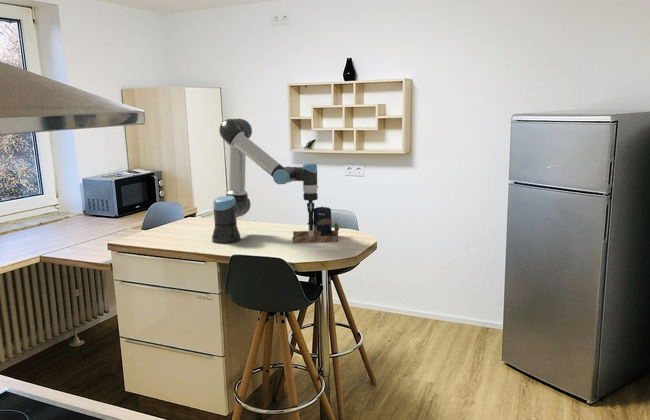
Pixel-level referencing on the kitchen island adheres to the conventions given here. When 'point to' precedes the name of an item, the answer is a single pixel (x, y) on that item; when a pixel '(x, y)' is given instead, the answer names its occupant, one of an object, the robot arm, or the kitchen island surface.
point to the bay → (305, 238)
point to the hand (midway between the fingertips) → (311, 235)
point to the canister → (322, 221)
